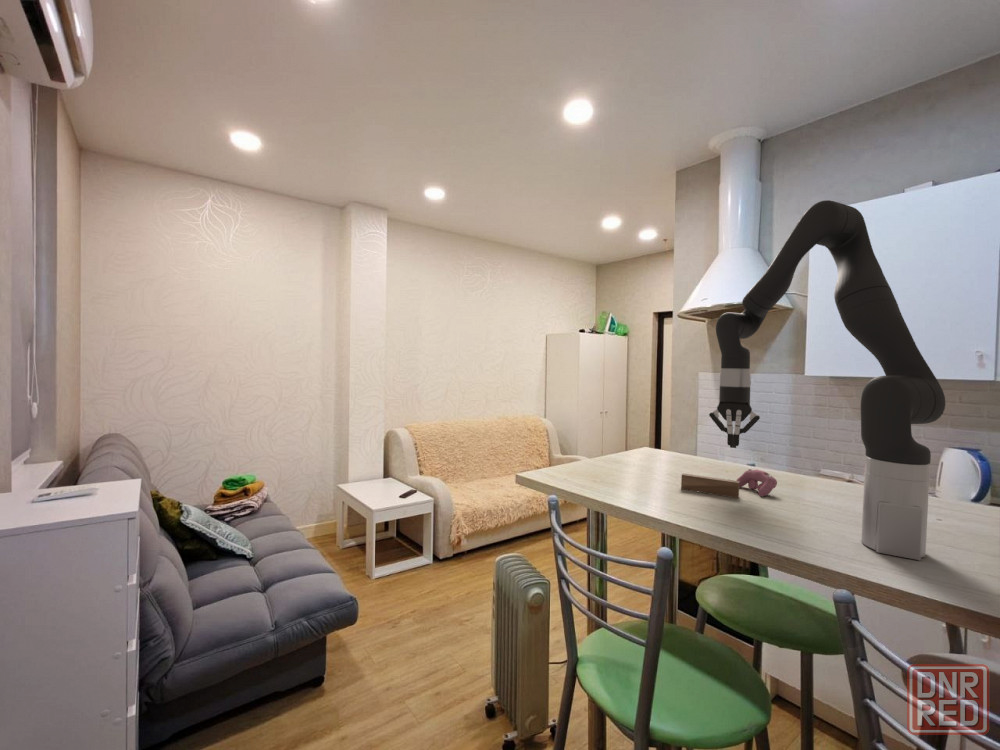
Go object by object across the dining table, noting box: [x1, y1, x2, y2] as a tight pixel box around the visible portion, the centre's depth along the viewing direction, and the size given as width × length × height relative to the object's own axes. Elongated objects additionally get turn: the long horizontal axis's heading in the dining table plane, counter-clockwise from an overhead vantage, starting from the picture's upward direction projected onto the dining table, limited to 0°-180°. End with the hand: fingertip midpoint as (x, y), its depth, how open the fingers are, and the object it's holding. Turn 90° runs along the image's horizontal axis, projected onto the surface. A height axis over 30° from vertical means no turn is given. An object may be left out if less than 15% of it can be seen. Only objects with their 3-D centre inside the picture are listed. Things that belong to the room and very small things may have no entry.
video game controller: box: [735, 468, 778, 497], centre depth 122 cm, size 10×5×7 cm, turn 14°
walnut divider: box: [680, 472, 740, 499], centre depth 119 cm, size 2×14×4 cm, turn 59°
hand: (733, 447), depth 122 cm, fingers closed
